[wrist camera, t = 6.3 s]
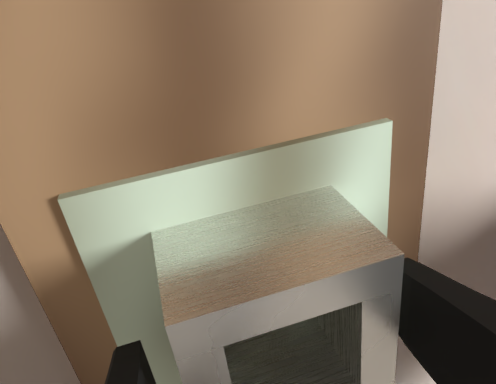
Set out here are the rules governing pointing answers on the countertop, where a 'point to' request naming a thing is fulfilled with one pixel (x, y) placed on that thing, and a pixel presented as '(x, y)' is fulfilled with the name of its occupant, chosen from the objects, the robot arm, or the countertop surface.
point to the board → (195, 138)
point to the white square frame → (281, 294)
